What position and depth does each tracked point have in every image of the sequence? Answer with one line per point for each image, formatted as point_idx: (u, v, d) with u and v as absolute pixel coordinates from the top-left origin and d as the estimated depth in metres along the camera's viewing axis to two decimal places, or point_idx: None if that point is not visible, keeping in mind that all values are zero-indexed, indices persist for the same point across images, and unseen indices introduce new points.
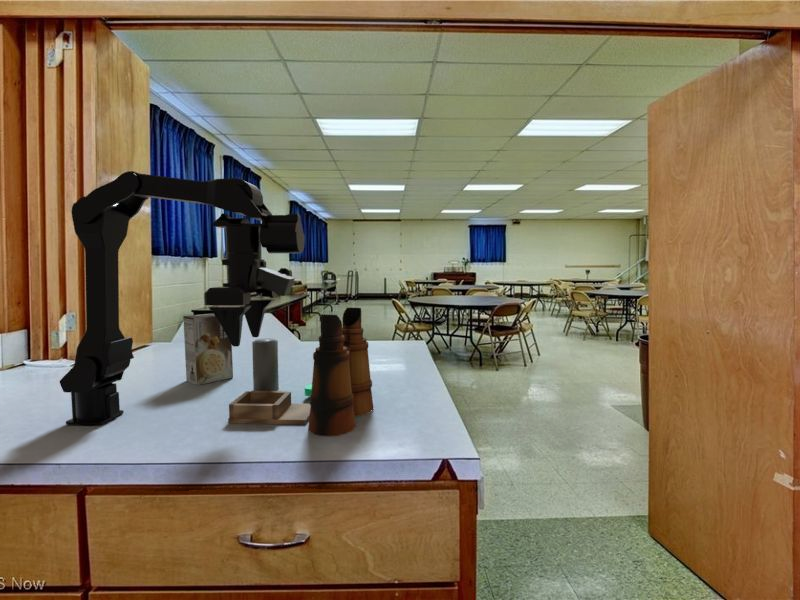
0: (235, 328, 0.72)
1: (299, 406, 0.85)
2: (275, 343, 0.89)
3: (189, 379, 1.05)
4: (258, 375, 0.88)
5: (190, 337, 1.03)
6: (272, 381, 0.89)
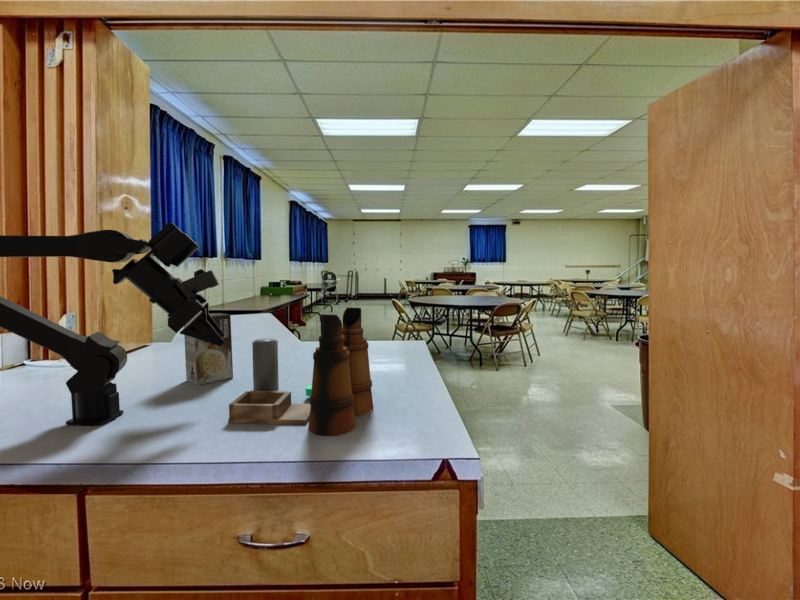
0: (211, 331, 0.81)
1: (299, 406, 0.85)
2: (275, 343, 0.89)
3: (189, 379, 1.05)
4: (258, 375, 0.88)
5: (190, 337, 1.03)
6: (272, 381, 0.89)
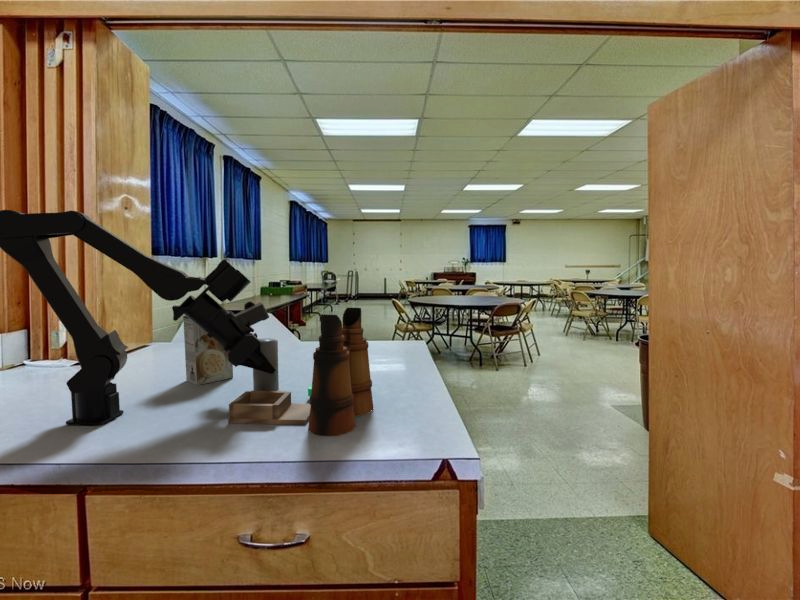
0: (264, 361, 0.87)
1: (299, 406, 0.85)
2: (275, 343, 0.89)
3: (189, 379, 1.05)
4: (258, 374, 0.88)
5: (190, 337, 1.03)
6: (272, 381, 0.89)
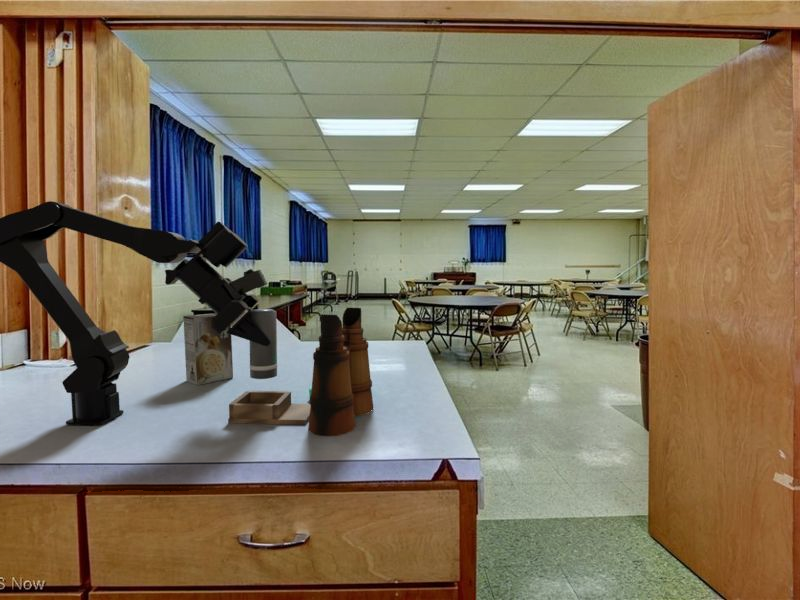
0: (257, 332, 0.80)
1: (299, 406, 0.85)
2: (272, 313, 0.83)
3: (189, 379, 1.05)
4: (253, 346, 0.82)
5: (190, 337, 1.03)
6: (268, 354, 0.83)
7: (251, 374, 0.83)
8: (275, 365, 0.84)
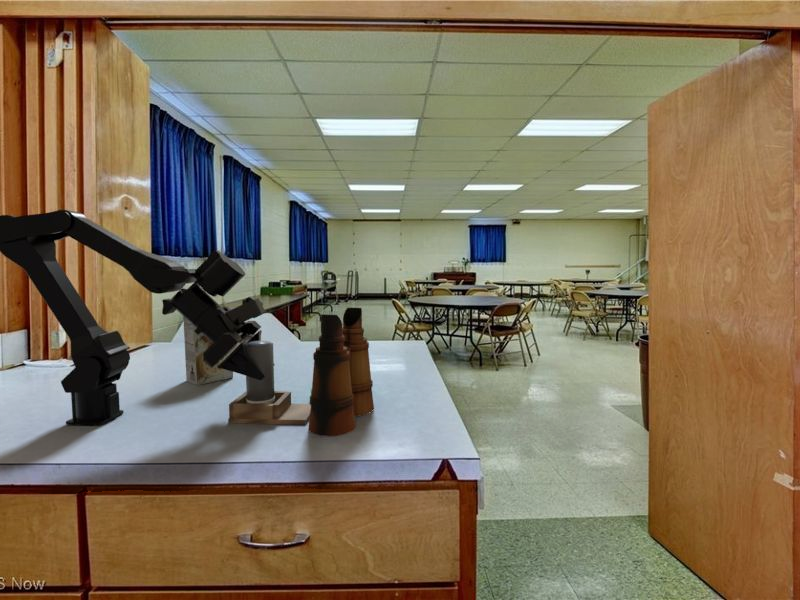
0: (250, 365, 0.76)
1: (299, 406, 0.85)
2: (267, 347, 0.80)
3: (189, 379, 1.05)
4: (249, 381, 0.80)
5: (190, 337, 1.03)
6: (263, 388, 0.80)
7: None
8: (272, 399, 0.82)
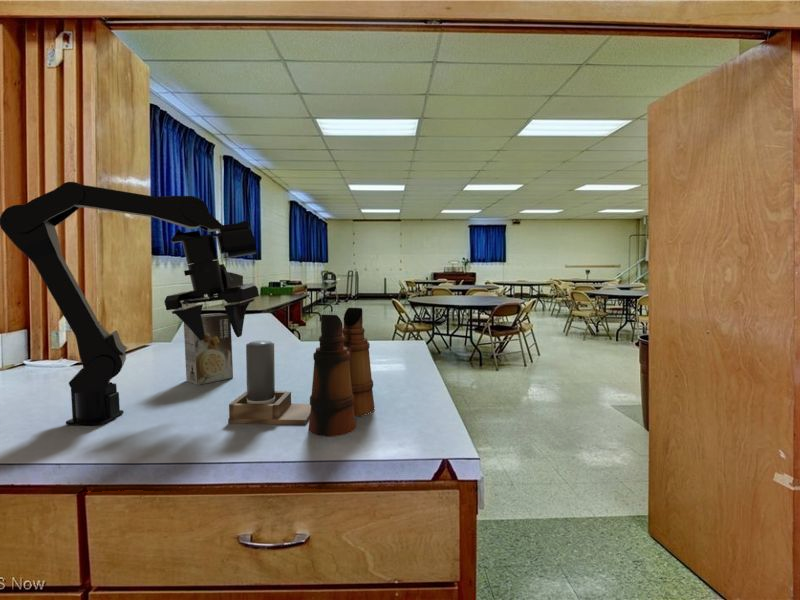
0: (242, 320, 0.87)
1: (299, 406, 0.85)
2: (269, 347, 0.80)
3: (189, 379, 1.05)
4: (249, 380, 0.80)
5: (190, 337, 1.03)
6: (264, 388, 0.80)
7: None
8: (272, 399, 0.82)
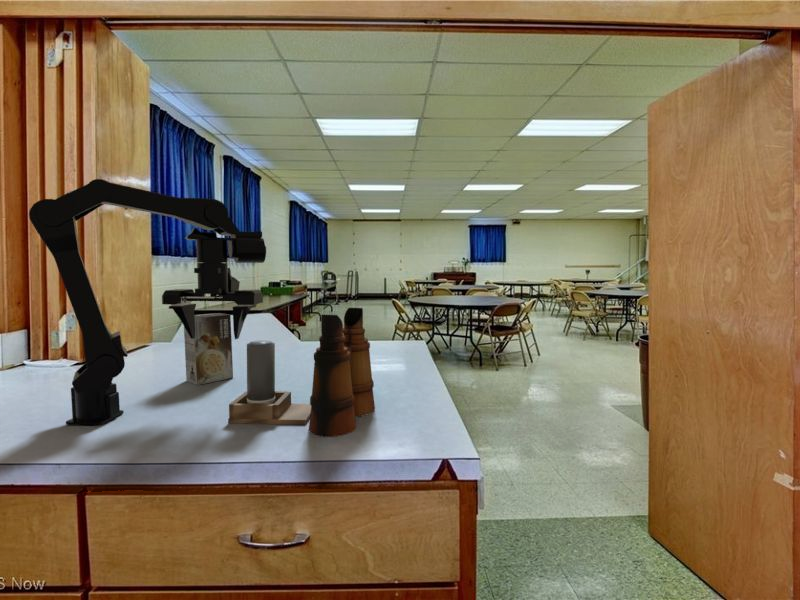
0: (242, 323, 0.90)
1: (299, 406, 0.85)
2: (269, 346, 0.80)
3: (189, 379, 1.05)
4: (250, 380, 0.80)
5: None
6: (264, 388, 0.80)
7: None
8: (272, 399, 0.82)
